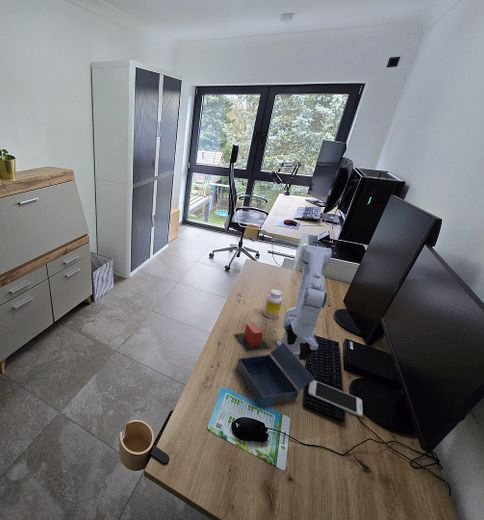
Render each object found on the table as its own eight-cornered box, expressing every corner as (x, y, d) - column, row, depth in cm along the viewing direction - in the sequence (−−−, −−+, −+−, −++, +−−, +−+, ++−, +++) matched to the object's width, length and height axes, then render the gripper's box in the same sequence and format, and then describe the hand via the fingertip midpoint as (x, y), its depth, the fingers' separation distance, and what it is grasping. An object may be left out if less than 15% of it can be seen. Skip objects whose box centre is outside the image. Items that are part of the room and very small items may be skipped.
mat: (255, 332, 128) (256, 331, 128) (268, 348, 119) (268, 347, 119) (234, 335, 126) (235, 334, 126) (246, 351, 118) (246, 350, 117)
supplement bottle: (279, 319, 136) (285, 297, 131) (264, 317, 138) (270, 295, 132) (275, 311, 142) (282, 289, 136) (261, 309, 143) (267, 287, 138)
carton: (266, 364, 112) (269, 354, 109) (294, 402, 97) (298, 391, 95) (236, 368, 110) (238, 358, 107) (259, 408, 95) (263, 397, 93)
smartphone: (309, 380, 105) (310, 378, 105) (361, 401, 98) (362, 399, 97) (307, 394, 100) (308, 392, 99) (361, 417, 92) (362, 415, 92)
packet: (252, 335, 126) (255, 322, 122) (259, 345, 120) (263, 332, 117) (243, 336, 125) (246, 323, 122) (250, 346, 120) (254, 333, 117)
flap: (270, 353, 109) (270, 353, 109) (299, 390, 94) (299, 390, 94) (283, 342, 108) (283, 342, 108) (314, 378, 93) (315, 379, 93)
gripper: (331, 334, 92) (319, 366, 98) (305, 308, 105) (295, 337, 111) (310, 334, 91) (299, 366, 97) (286, 308, 105) (277, 338, 110)
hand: (296, 351), depth 104 cm, fingers open, 7 cm apart
